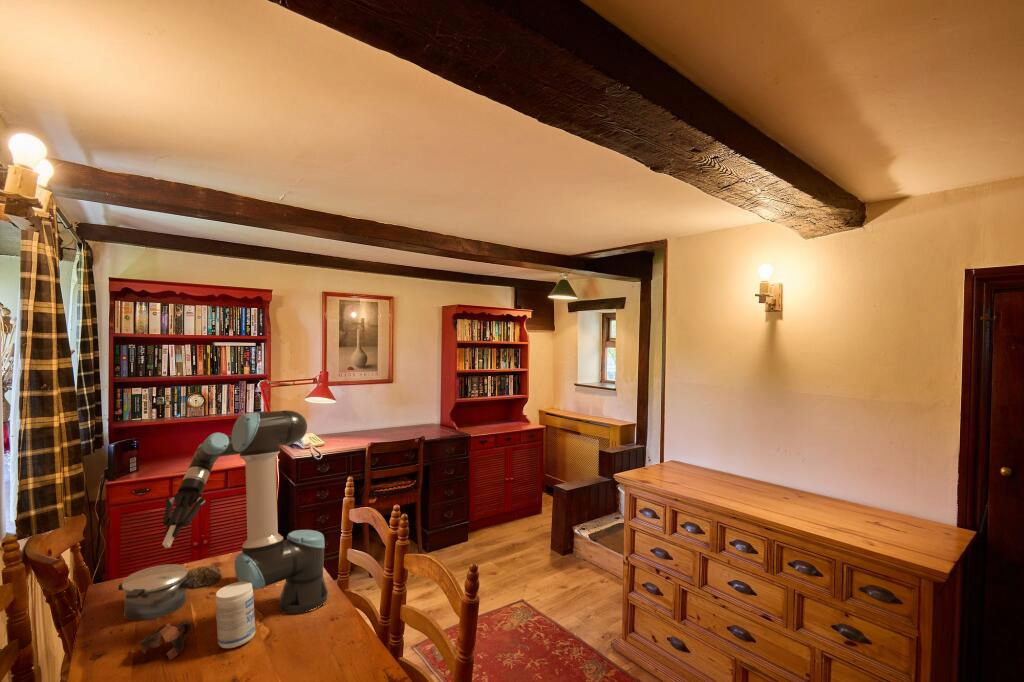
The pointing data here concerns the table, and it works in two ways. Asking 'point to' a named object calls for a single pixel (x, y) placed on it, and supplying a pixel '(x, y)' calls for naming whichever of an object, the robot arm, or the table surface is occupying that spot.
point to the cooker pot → (156, 601)
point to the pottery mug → (168, 638)
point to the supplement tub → (235, 614)
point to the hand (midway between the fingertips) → (166, 545)
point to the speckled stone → (204, 576)
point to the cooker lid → (153, 579)
